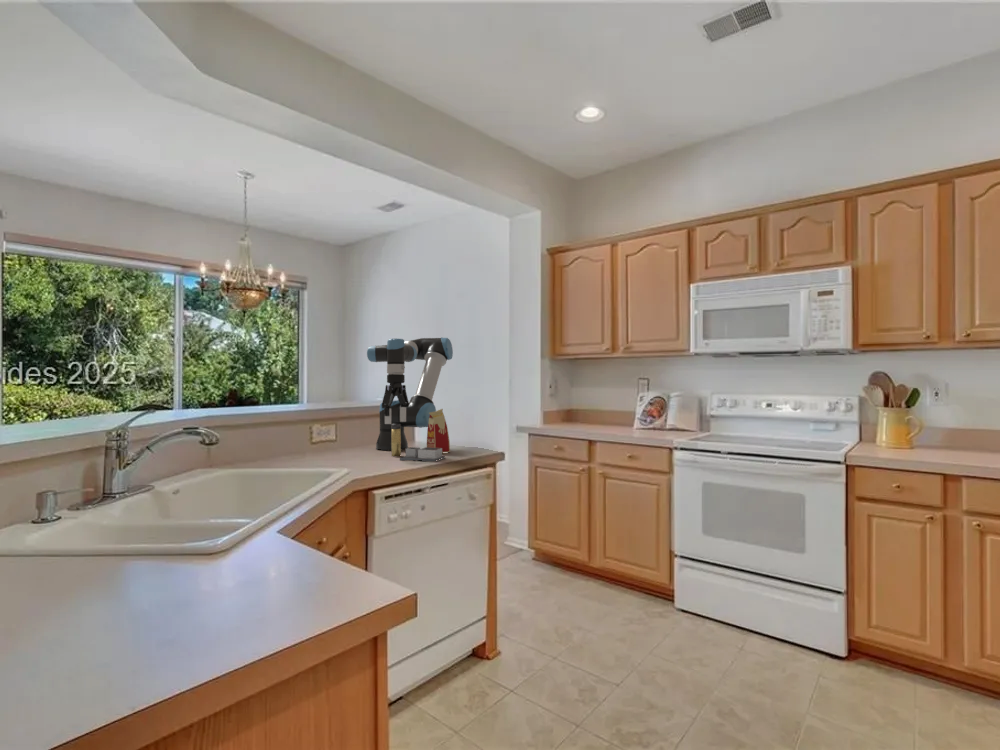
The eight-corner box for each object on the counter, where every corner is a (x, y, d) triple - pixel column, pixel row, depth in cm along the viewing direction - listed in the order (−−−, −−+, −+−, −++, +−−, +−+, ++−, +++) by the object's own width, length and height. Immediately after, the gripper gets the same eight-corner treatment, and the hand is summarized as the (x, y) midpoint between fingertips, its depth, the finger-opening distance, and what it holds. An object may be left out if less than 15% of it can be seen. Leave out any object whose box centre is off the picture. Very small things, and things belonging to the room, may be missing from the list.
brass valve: (394, 455, 227) (394, 423, 227) (402, 455, 226) (402, 423, 226) (389, 456, 224) (389, 424, 224) (398, 457, 222) (398, 424, 222)
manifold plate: (410, 456, 223) (410, 446, 223) (445, 458, 218) (445, 447, 218) (399, 460, 213) (399, 449, 213) (435, 461, 209) (435, 450, 209)
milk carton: (442, 450, 242) (442, 408, 242) (450, 453, 234) (450, 408, 234) (424, 452, 237) (424, 408, 237) (432, 454, 229) (432, 409, 229)
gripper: (389, 373, 212) (389, 425, 212) (416, 374, 236) (416, 420, 236) (373, 373, 214) (373, 424, 214) (401, 374, 238) (401, 420, 238)
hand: (395, 422), depth 225 cm, fingers open, 13 cm apart
